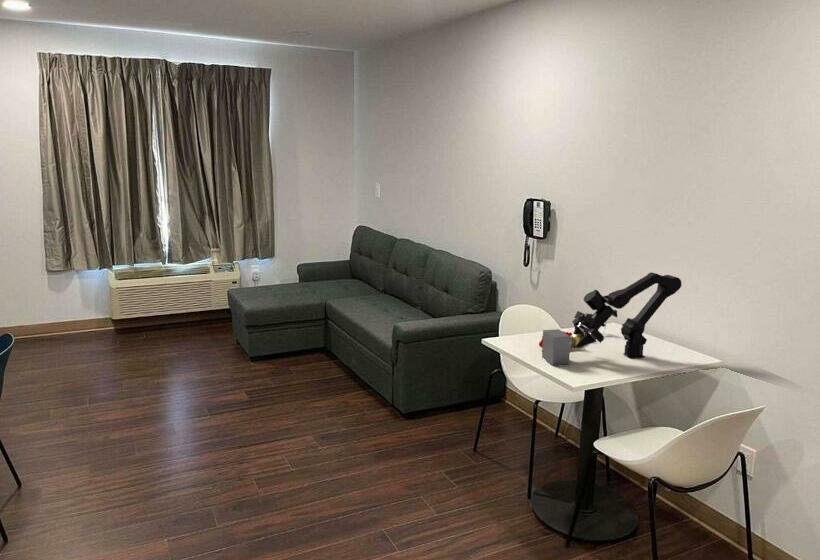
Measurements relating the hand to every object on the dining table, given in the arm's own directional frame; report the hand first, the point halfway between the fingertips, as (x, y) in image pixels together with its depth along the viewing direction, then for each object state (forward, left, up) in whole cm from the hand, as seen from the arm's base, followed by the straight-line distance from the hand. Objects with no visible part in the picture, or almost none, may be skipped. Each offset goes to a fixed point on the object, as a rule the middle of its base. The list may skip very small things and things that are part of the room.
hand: (573, 344), depth 262 cm
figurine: (-5, -20, -7) cm, 22 cm away
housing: (+8, 0, -7) cm, 10 cm away
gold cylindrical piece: (+1, 0, -2) cm, 2 cm away
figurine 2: (-27, -34, -7) cm, 44 cm away
